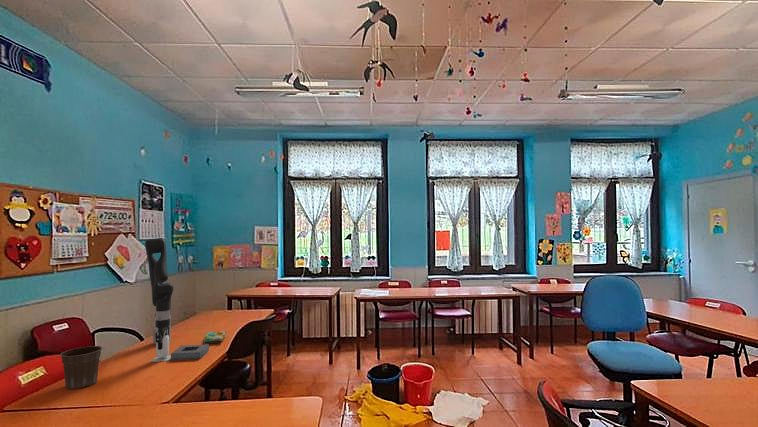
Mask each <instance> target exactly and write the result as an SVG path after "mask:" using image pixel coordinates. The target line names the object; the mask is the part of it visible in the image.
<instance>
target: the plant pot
mask: <svg viewBox="0 0 758 427" xmlns="http://www.w3.org/2000/svg"><path fill="white" fill-rule="evenodd" d="M102 350H103V347H102V346H98V345H89V346H82V347H76V348H72V349H69V350H65V351H62V352H61V353H60V354H59V356H60V357H61V364H62V366H63V374H64V382H65V388H66V389H67V390H78V389H83V388H85V387H90V386H92V385H94V384H96V383H97V382H98V376H99V364H100V357H101V355H102V353H101V352H102Z"/></svg>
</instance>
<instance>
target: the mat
mask: <svg viewBox="0 0 758 427" xmlns="http://www.w3.org/2000/svg"><path fill="white" fill-rule="evenodd" d="M160 361H161V362H168V361H171V355H168V356H166V357H160V358H159V357H154V358H153V359H152V360H151V361H150V363H155V362H156V363H158V362H160Z"/></svg>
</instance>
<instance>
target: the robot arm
mask: <svg viewBox="0 0 758 427" xmlns="http://www.w3.org/2000/svg"><path fill="white" fill-rule="evenodd" d="M144 247H145V253H146V257H147V263H148V273H149V280H150V286H151V301H152V305H153V306H154V307H155V313H154V329H153V332H152V333H153V334H152V335H153V336H152V338H153V339H152V340H153V341H152V344H153V345H156V343H158V350H161V349H162V341H163V338H164V336H165V335H166V334H168V336H169V343H171V319H172V318H171V312H172V311H171V310H172V309H171V308H172V307H171V306H172V305H171V304H172V295H173V292H174V285H173V283H170V282H168V280H169V275H168V266H167V265H168V264H167V244H166V240H165V238H163V237H155V238H149V239H146V240H145V242H144ZM154 254H155V255H156V254H160V256H159V258H158V259H157V258H156V257H155V256H154ZM161 336H162V337H161ZM157 339H158V340H157Z"/></svg>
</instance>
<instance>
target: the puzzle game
mask: <svg viewBox="0 0 758 427" xmlns="http://www.w3.org/2000/svg"><path fill="white" fill-rule="evenodd" d="M226 334H227V330H221V331H220V330H219V331H209V332H207V334H205V335H204V337H203V338H202V340H201V342H202V343H204V345H205V344H209V345H210V344H219V343H222V342H223V340H224V338H225V336H226Z"/></svg>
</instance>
